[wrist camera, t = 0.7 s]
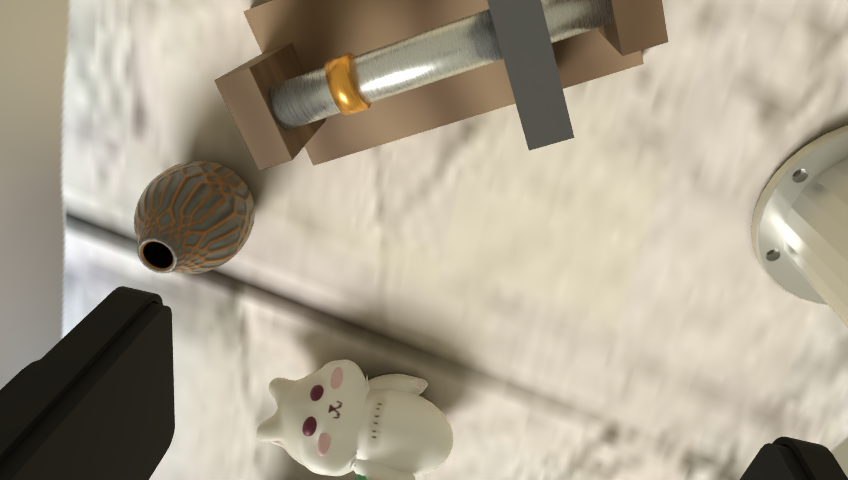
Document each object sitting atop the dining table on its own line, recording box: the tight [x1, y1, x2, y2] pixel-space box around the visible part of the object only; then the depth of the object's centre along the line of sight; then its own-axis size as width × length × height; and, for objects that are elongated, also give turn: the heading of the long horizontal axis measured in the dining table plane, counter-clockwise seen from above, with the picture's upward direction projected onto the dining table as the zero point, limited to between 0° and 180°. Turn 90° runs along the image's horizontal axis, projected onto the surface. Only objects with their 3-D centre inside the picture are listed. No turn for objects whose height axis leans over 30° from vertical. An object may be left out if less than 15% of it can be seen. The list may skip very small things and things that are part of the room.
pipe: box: [268, 0, 613, 130], centre depth 29 cm, size 18×3×3 cm, turn 109°
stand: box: [215, 0, 668, 170], centre depth 31 cm, size 21×10×8 cm, turn 109°
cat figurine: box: [257, 360, 453, 480], centre depth 45 cm, size 10×8×15 cm
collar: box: [487, 0, 574, 150], centre depth 28 cm, size 2×9×9 cm, turn 20°
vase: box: [134, 161, 255, 274], centre depth 37 cm, size 7×7×9 cm
